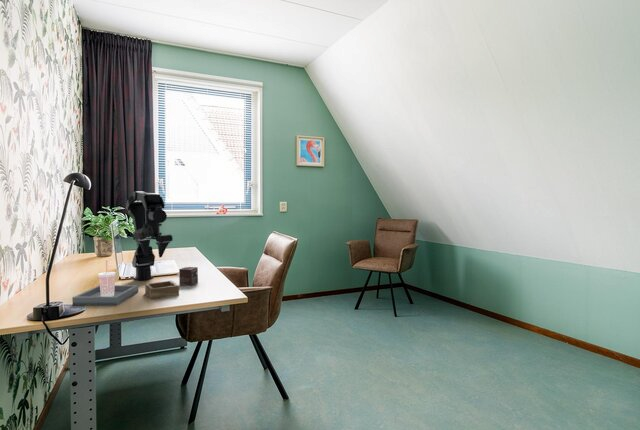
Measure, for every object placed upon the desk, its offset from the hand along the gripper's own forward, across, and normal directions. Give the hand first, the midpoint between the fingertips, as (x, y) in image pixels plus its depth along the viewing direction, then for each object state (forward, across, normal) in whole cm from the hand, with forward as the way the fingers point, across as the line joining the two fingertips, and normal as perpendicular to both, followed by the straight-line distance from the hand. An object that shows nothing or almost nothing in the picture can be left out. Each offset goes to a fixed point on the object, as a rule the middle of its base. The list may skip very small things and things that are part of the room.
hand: (153, 256), depth 171 cm
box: (+13, +12, +9) cm, 20 cm away
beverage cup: (+12, +1, -23) cm, 26 cm away
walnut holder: (+13, +15, -9) cm, 22 cm away
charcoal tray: (+13, +2, -23) cm, 27 cm away
